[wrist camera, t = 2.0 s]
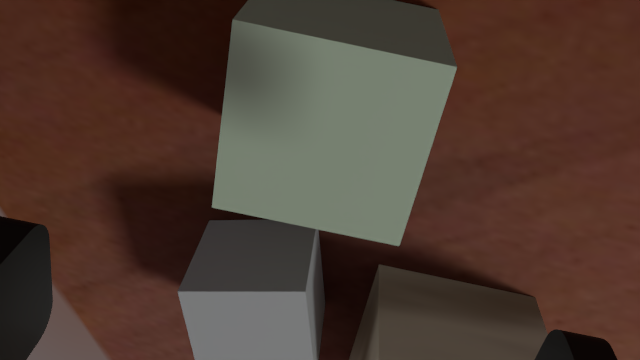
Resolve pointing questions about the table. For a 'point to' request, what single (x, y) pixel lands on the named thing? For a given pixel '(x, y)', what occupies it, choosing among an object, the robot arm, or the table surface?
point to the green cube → (331, 113)
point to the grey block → (255, 292)
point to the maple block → (445, 320)
